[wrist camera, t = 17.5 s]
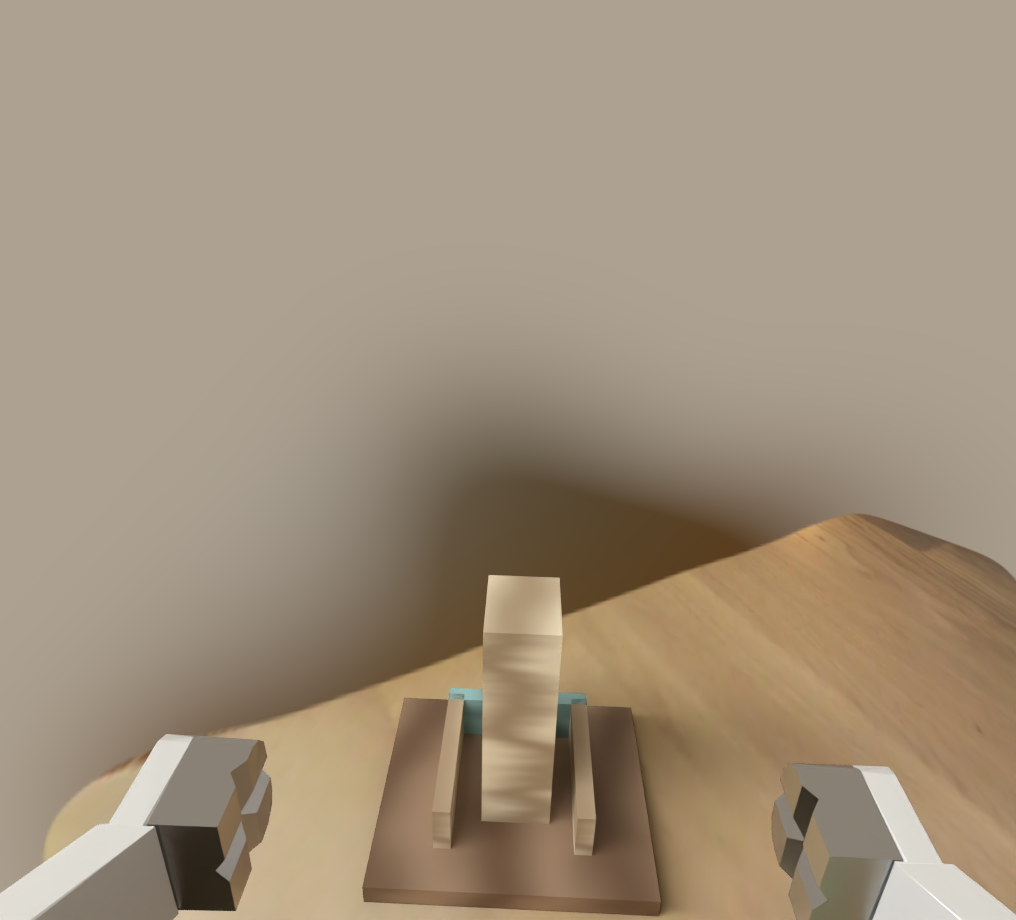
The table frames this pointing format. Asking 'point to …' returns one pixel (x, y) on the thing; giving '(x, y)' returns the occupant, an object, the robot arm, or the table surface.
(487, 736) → the tan tall rectangular block
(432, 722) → the dock
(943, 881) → the robot arm
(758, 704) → the table surface
